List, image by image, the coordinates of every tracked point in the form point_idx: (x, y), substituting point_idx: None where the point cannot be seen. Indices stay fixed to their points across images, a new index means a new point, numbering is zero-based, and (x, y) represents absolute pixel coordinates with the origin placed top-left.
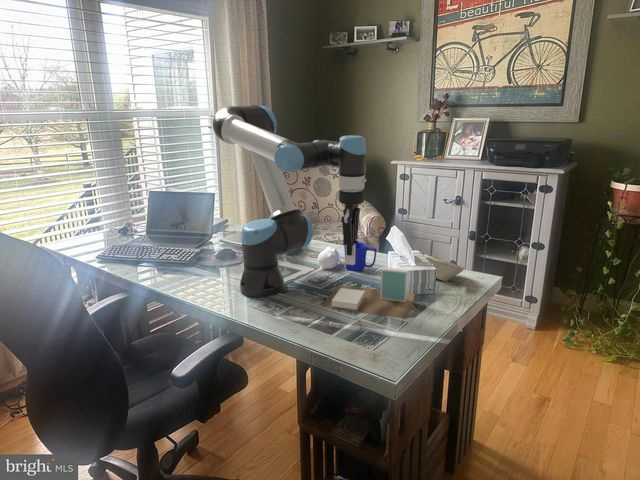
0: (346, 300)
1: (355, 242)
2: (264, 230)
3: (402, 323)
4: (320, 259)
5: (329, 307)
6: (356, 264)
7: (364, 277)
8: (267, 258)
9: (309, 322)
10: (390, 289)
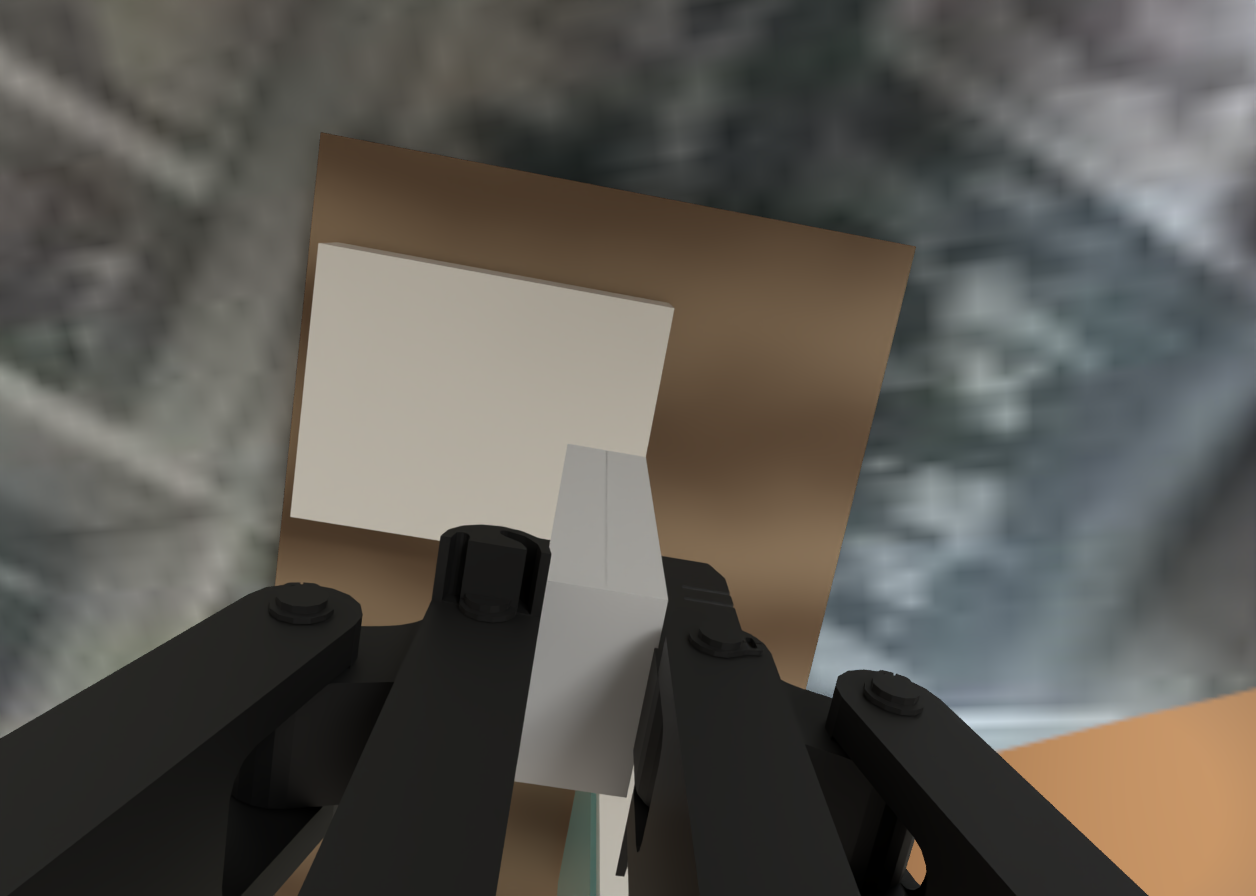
0: (349, 403)
1: (628, 817)
2: None
3: None
4: None
5: (323, 221)
6: None
7: (1192, 491)
8: None
9: (50, 52)
10: (577, 833)
